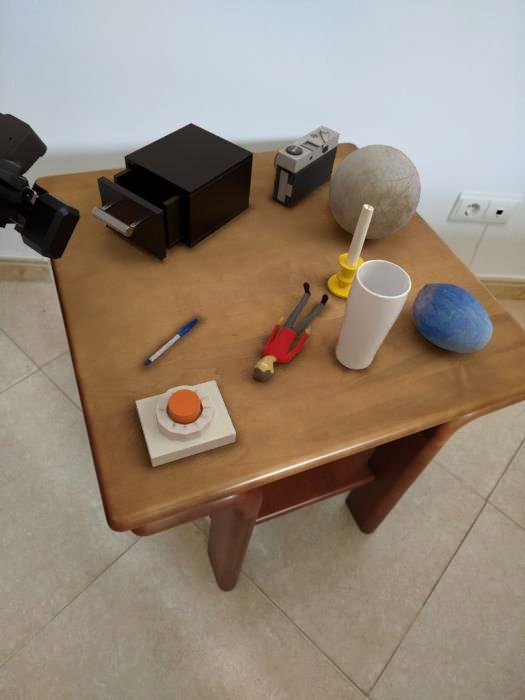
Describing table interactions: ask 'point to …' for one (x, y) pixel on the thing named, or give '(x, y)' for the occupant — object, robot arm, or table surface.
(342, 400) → the table surface
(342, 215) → the decorative sphere
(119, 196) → the drawer
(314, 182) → the camera
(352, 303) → the drinking glass
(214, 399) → the button block
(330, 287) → the candle
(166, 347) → the ballpoint pen
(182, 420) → the button
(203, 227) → the black cabinet
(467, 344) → the egg
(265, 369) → the person figure
